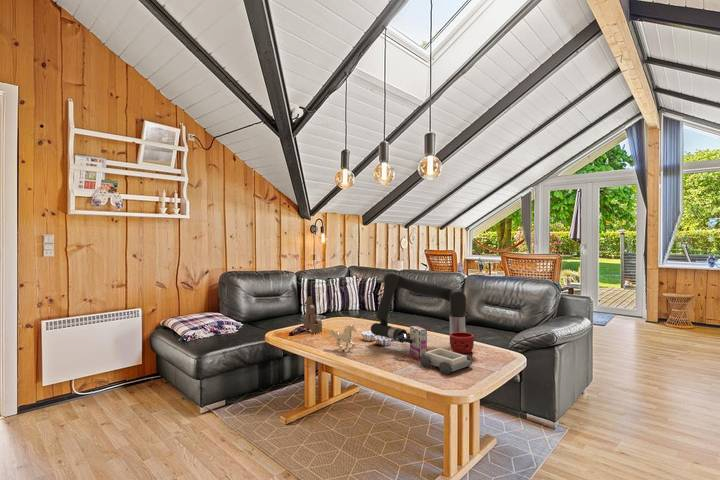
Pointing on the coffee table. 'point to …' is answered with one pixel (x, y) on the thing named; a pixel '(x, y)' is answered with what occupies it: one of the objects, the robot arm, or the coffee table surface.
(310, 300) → the wooden toy
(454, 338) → the plant pot
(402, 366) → the coffee table surface
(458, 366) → the toy car chassis
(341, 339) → the unicorn
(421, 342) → the candy bar box
